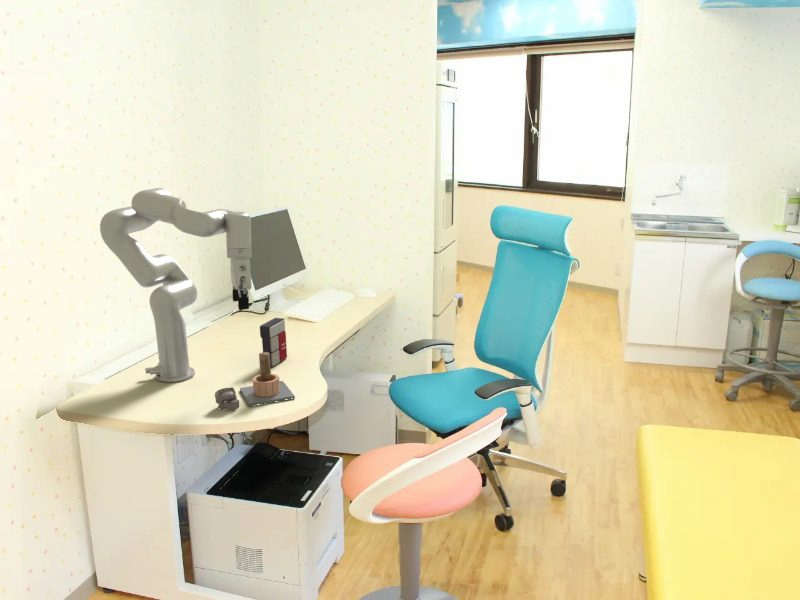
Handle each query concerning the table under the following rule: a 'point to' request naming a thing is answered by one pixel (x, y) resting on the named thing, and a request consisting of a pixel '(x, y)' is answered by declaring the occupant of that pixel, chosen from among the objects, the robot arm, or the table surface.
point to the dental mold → (227, 399)
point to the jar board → (266, 391)
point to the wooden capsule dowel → (265, 366)
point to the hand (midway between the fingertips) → (240, 304)
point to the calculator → (274, 340)
